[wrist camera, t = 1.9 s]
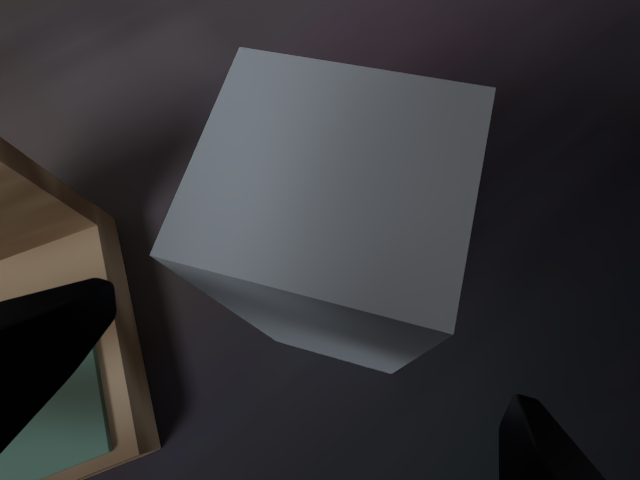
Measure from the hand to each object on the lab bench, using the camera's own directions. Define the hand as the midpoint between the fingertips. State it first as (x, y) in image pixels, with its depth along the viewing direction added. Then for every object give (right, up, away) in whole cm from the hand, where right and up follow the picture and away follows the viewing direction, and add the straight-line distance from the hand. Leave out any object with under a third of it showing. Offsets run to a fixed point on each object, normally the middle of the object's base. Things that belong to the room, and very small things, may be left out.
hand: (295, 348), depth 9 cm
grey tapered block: (+2, -1, +11) cm, 11 cm away
